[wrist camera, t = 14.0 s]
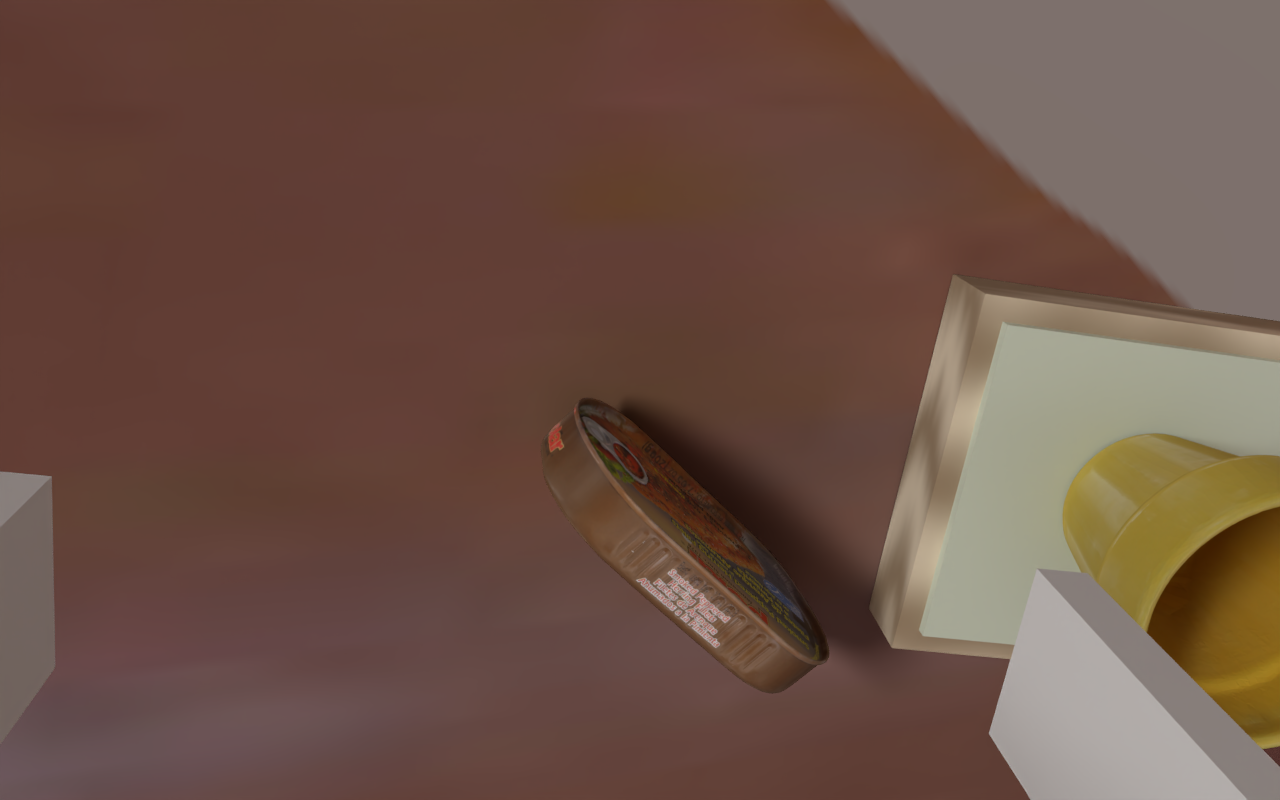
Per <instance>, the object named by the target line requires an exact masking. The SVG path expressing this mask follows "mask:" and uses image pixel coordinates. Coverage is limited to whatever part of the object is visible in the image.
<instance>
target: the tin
mask: <svg viewBox="0 0 1280 800" xmlns="http://www.w3.org/2000/svg"><path fill="white" fill-rule="evenodd" d="M541 457H542V465H543V473H544V478H545V481H546V483H547V486H548V488H549V490H550V492H551V494H552V496H553V497H554V499H555V501H556V503H557V504H558V506H559V507H560V509H561V511H562V512H563V514H564V515H565V517H566V518H567V519H568V521H569V522H570V524H571V525H572V526H573V527H574V529H575V530H576V531H577V532H578V533H579V535H580V536H581V537H582V538H583V539H584V540H585V542H586V543H587V544H588V545H589V546H590V547H591V548H592V549H593V550H594V551H595V552H596V554H597V555H598V556H599V557H600V558H601V559H602V560H604V561H605V562H606V563H607V564H608V565H609V566H610V567H611V568H612V569H614V570H615V571H616V572H617V573H618V574H619V575H620V576H621V577H622V578H624V579H625V580H626V581H627V582H628V583H629V584H630V585H631V586H632V587H634V588H635V589H636V590H637V591H638V592H639V593H640V594H641V595H643V596H644V597H645V598H646V599H647V600H649V601H650V602H651V603H652V604H653V605H654V606H655V607H656V608H658V609H659V610H660V611H661V612H662V613H663V614H664V615H665V616H667V617H668V618H669V619H670V620H671V621H672V622H674V623H675V624H676V625H677V626H678V627H679V628H680V629H681V630H683V631H684V632H685V633H686V634H687V635H689V636H690V637H691V638H692V639H693V640H694V641H695V642H696V643H698V644H699V645H700V646H701V647H703V648H704V649H705V650H706V651H707V652H708V653H710V654H711V655H712V656H713V657H714V658H715V659H716V660H717V661H719V662H720V663H721V664H722V665H723V666H725V667H726V668H727V669H728V670H729V671H730V672H732V673H733V674H734V675H735V676H737V677H738V678H739V679H741V680H742V681H743V682H745V683H747V684H748V685H750V686H751V687H753V688H755V689H757V690H760V691H762V692H766V693H779V692H782V691H784V690H785V689H787V688H788V687H790V686H791V685H793V684H794V683H795V682H797V681H798V680H799V679H800V678H802V677H803V676H804V675H805V674H807V673H808V672H809V671H811V670H812V669H813V668H814V667H816V666H817V665H821V664H824V663H825V662H826V661H827V659H828V658H829V647H828V643H827V639H826V636H825V634H824V632H823V630H822V628H821V626H820V623H819V622H818V620H817V618H816V616H815V614H814V613H813V611H812V609H811V608H810V606H809V605H808V603H807V602H806V600H805V598H804V597H803V595H802V594H801V592H800V591H799V589H798V588H797V586H796V585H795V583H794V582H793V580H792V579H791V577H790V576H789V575H788V574H787V572H786V571H785V570H784V568H783V567H782V566H781V565H780V564H779V562H778V561H777V560H776V559H775V558H774V556H773V555H772V554H771V553H770V552H769V551H768V550H767V549H766V548H765V547H764V546H763V545H762V544H761V543H760V542H759V540H758V539H757V538H756V537H755V536H754V535H753V534H752V533H751V532H750V531H749V530H748V529H746V528H745V527H744V526H743V525H742V524H741V523H740V522H739V521H738V520H737V519H736V518H735V517H734V516H733V515H732V514H731V513H730V512H728V511H727V510H726V509H725V508H724V507H723V506H722V505H721V504H720V503H719V502H718V501H717V500H716V499H715V498H713V497H712V496H711V495H710V494H709V493H708V492H707V491H706V490H705V489H704V488H703V487H702V486H701V485H700V484H699V483H698V482H697V481H695V480H694V479H693V478H692V477H691V476H690V475H689V474H688V473H687V472H686V471H685V470H684V469H683V468H682V467H681V466H680V465H679V464H678V463H677V462H676V461H674V460H673V459H672V458H671V457H670V456H669V455H668V454H667V453H666V452H665V451H664V450H663V449H662V448H661V447H660V446H658V445H657V444H656V443H655V442H654V441H653V440H652V439H651V438H650V437H649V436H648V435H647V434H646V433H645V432H644V431H643V430H641V429H640V428H639V427H638V426H637V425H636V424H634V423H633V422H632V421H631V420H630V419H629V418H627V417H625V416H624V415H623V414H621V413H620V412H619V411H617V410H616V409H614V408H613V407H611V406H609V405H608V404H606V403H604V402H602V401H599V400H596V399H593V398H583V399H581V400H579V401H578V402H577V403H576V405H575V408H574V409H573V410H572V411H571V412H570V413H569V414H568V415H567V416H566V417H564V418H563V419H562V420H561V421H560V422H559V423H558V424H557V425H556V426H554V427H553V428H552V429H551V430H550V432H549V433H548V434H547V435H546V436H545V437H544V439H543V441H542V445H541Z"/></svg>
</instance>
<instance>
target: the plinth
mask: <svg viewBox="0 0 1280 800" xmlns="http://www.w3.org/2000/svg"><path fill="white" fill-rule="evenodd" d="M1153 433H1156V434H1167V435H1172V436H1176V437H1180V438H1183V439H1186V440H1189V441H1192V442H1195V443H1199V444H1202V445H1205V446H1208V447H1211V448H1215V449H1218V450H1221V451H1224V452H1227V453H1231V454H1234V455H1237V456H1250V455H1273V456H1280V321H1273V320H1266V319H1259V318H1253V317H1246V316H1239V315H1231V314H1225V313H1218V312H1211V311H1204V310H1197V309H1191V308H1184V307H1177V306H1170V305H1163V304H1156V303H1149V302H1142V301H1135V300H1128V299H1122V298H1115V297H1108V296H1101V295H1094V294H1087V293H1080V292H1073V291H1066V290H1059V289H1053V288H1046V287H1039V286H1032V285H1025V284H1018V283H1011V282H1004V281H997V280H990V279H984V278H977V277H970V276H963V275H956V274H953V277H952V281H951V285H950V289H949V293H948V297H947V301H946V305H945V309H944V313H943V317H942V321H941V325H940V329H939V333H938V336H937V340H936V344H935V348H934V352H933V356H932V360H931V364H930V368H929V372H928V376H927V380H926V384H925V388H924V392H923V396H922V400H921V403H920V407H919V411H918V415H917V419H916V423H915V427H914V431H913V435H912V439H911V443H910V447H909V451H908V455H907V459H906V463H905V467H904V471H903V474H902V478H901V482H900V486H899V490H898V494H897V498H896V502H895V506H894V510H893V514H892V518H891V522H890V526H889V530H888V534H887V538H886V542H885V545H884V549H883V553H882V557H881V561H880V565H879V569H878V573H877V577H876V581H875V585H874V589H873V593H872V597H871V601H870V605H869V609H870V611H871V613H872V614H873V616H874V618H875V620H876V621H877V623H878V625H879V627H880V628H881V630H882V632H883V634H884V635H885V637H886V639H887V640H888V642H889V644H890V646H891V647H892V648H897V649H908V650H919V651H929V652H940V653H951V654H962V655H972V656H983V657H994V658H1004V659H1011V656H1012V652H1013V649H1014V646H1015V642H1016V639H1017V635H1018V632H1019V628H1020V625H1021V621H1022V618H1023V615H1024V611H1025V608H1026V604H1027V601H1028V597H1029V594H1030V590H1031V587H1032V584H1033V580H1034V577H1035V573H1036V570H1037V569H1048V570H1059V571H1070V572H1080V573H1081V571H1080V569H1079V567H1078V565H1077V563H1076V561H1075V559H1074V557H1073V555H1072V553H1071V551H1070V548H1069V546H1068V544H1067V542H1066V539H1065V536H1064V531H1063V517H1062V515H1063V506H1064V501H1065V498H1066V495H1067V492H1068V490H1069V487H1070V485H1071V483H1072V481H1073V480H1074V478H1075V477H1076V475H1077V474H1078V473H1079V471H1080V470H1081V469H1082V468H1083V467H1084V465H1085V464H1086V463H1087V462H1088V461H1089V460H1090V459H1092V458H1093V457H1094V456H1095V455H1096V454H1097V453H1099V452H1100V451H1102V450H1103V449H1104V448H1106V447H1108V446H1110V445H1111V444H1113V443H1115V442H1117V441H1120V440H1122V439H1125V438H1128V437H1132V436H1136V435H1141V434H1153Z"/></svg>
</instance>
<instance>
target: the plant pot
mask: <svg viewBox="0 0 1280 800" xmlns="http://www.w3.org/2000/svg"><path fill="white" fill-rule="evenodd" d="M1062 517H1063V531H1064V536H1065V539H1066V542H1067V544H1068V546H1069V548H1070V551H1071V553H1072V555H1073V557H1074V559H1075V561H1076V563H1077V565H1078V567H1079V569H1080V571H1081V573H1088V574H1089V575H1090V576H1091V577H1092V578H1093V579H1094V580H1095V581H1096V582H1097V583H1098V584H1099V585H1100V586H1101V587H1102V588H1103V589H1104V590H1105V591H1106V592H1107V593H1108V594H1109V595H1110V596H1111V597H1112V598H1113V599H1114V600H1115V601H1116V602H1117V603H1118V605H1119V606H1120V607H1121V608H1122V609H1123V610H1124V611H1125V612H1126V613H1127V614H1128V615H1129V616H1130V617H1131V618H1132V619H1133V620H1134V621H1135V622H1136V623H1137V624H1138V625H1139V626H1140V627H1141V628H1142V629H1143V630H1144V631H1145V632H1146V633H1147V634H1148V635H1149V636H1150V637H1151V638H1152V639H1153V640H1154V641H1155V642H1156V643H1157V644H1158V645H1159V646H1160V647H1161V648H1162V649H1163V650H1164V651H1165V652H1166V653H1167V654H1168V655H1169V656H1170V657H1171V658H1172V659H1173V660H1174V661H1175V662H1176V663H1177V664H1178V665H1179V666H1180V667H1181V668H1182V669H1183V670H1184V671H1185V672H1186V673H1187V674H1188V675H1189V676H1190V677H1191V678H1192V679H1193V680H1194V681H1195V682H1196V683H1197V684H1198V685H1199V686H1200V687H1201V688H1202V689H1203V690H1204V691H1205V692H1206V693H1207V694H1208V695H1209V696H1210V697H1211V698H1212V699H1213V700H1214V701H1215V702H1216V703H1217V704H1218V705H1219V706H1220V707H1221V708H1222V709H1223V710H1224V711H1225V712H1226V713H1227V714H1228V715H1229V716H1230V717H1231V718H1232V719H1233V720H1234V721H1235V722H1236V723H1237V724H1238V725H1239V726H1240V727H1241V728H1242V729H1243V730H1244V732H1245V733H1246V734H1247V735H1248V736H1249V737H1250V738H1251V739H1252V740H1253V741H1254V742H1255V743H1256V744H1257V745H1258V746H1259V747H1260V748H1261V749H1267V748H1273V747H1278V746H1280V456H1273V455H1250V456H1237V455H1234V454H1231V453H1227V452H1224V451H1221V450H1218V449H1215V448H1211V447H1208V446H1205V445H1202V444H1199V443H1195V442H1192V441H1189V440H1186V439H1183V438H1180V437H1176V436H1172V435H1167V434H1156V433H1153V434H1141V435H1136V436H1132V437H1128V438H1125V439H1122V440H1120V441H1117V442H1115V443H1113V444H1111V445H1110V446H1108V447H1106V448H1104V449H1103V450H1102V451H1100V452H1099V453H1097V454H1096V455H1095V456H1094V457H1093V458H1092V459H1090V460H1089V461H1088V462H1087V463H1086V464H1085V465H1084V467H1083V468H1082V469H1081V470H1080V471H1079V473H1078V474H1077V475H1076V477H1075V478H1074V480H1073V481H1072V483H1071V485H1070V487H1069V490H1068V492H1067V495H1066V498H1065V501H1064V506H1063V515H1062Z"/></svg>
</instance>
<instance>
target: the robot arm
mask: <svg viewBox="0 0 1280 800" xmlns="http://www.w3.org/2000/svg"><path fill="white" fill-rule="evenodd" d="M54 668H55V628H54V576H53V523H52V476H42V475H31V474H20V473H10V472H0V744H1V743H2V742H3V740H4V739H5V737H6V736H7V735H8V733H9V732H10V730H11V729H12V728H13V726H14V725H15V723H16V722H17V720H18V719H19V718H20V716H21V715H22V713H23V712H24V711H25V709H26V708H27V706H28V705H29V704H30V702H31V701H32V699H33V698H34V697H35V695H36V694H37V692H38V691H39V690H40V688H41V687H42V685H43V684H44V682H45V681H46V680H47V678H48V677H49V675H50V674H51V673H52V671H53V670H54ZM989 735H990V736H991V738H992V739H993V741H994V743H995V744H996V746H997V747H998V749H999V750H1000V752H1001V753H1002V755H1003V757H1004V758H1005V760H1006V761H1007V763H1008V764H1009V766H1010V768H1011V769H1012V771H1013V772H1014V774H1015V775H1016V777H1017V779H1018V780H1019V782H1020V783H1021V785H1022V786H1023V788H1024V790H1025V791H1026V793H1027V794H1028V796H1029V797H1030V799H1031V800H1280V767H1279V766H1278V765H1277V764H1276V763H1275V762H1274V761H1273V760H1272V759H1271V758H1270V757H1269V756H1268V755H1267V754H1266V753H1265V752H1264V751H1263V750H1262V749H1261V748H1260V747H1259V746H1258V745H1257V744H1256V743H1255V742H1254V741H1253V740H1252V739H1251V738H1250V737H1249V736H1248V735H1247V734H1246V733H1245V732H1244V730H1243V729H1242V728H1241V727H1240V726H1239V725H1238V724H1237V723H1236V722H1235V721H1234V720H1233V719H1232V718H1231V717H1230V716H1229V715H1228V714H1227V713H1226V712H1225V711H1224V710H1223V709H1222V708H1221V707H1220V706H1219V705H1218V704H1217V703H1216V702H1215V701H1214V700H1213V699H1212V698H1211V697H1210V696H1209V695H1208V694H1207V693H1206V692H1205V691H1204V690H1203V689H1202V688H1201V687H1200V686H1199V685H1198V684H1197V683H1196V682H1195V681H1194V680H1193V679H1192V678H1191V677H1190V676H1189V675H1188V674H1187V673H1186V672H1185V671H1184V670H1183V669H1182V668H1181V667H1180V666H1179V665H1178V664H1177V663H1176V662H1175V661H1174V660H1173V659H1172V658H1171V657H1170V656H1169V655H1168V654H1167V653H1166V652H1165V651H1164V650H1163V649H1162V648H1161V647H1160V646H1159V645H1158V644H1157V643H1156V642H1155V641H1154V640H1153V639H1152V638H1151V637H1150V636H1149V635H1148V634H1147V633H1146V632H1145V631H1144V630H1143V629H1142V628H1141V627H1140V626H1139V625H1138V624H1137V623H1136V622H1135V621H1134V620H1133V619H1132V618H1131V617H1130V616H1129V615H1128V614H1127V613H1126V612H1125V611H1124V610H1123V609H1122V608H1121V607H1120V606H1119V605H1118V603H1117V602H1116V601H1115V600H1114V599H1113V598H1112V597H1111V596H1110V595H1109V594H1108V593H1107V592H1106V591H1105V590H1104V589H1103V588H1102V587H1101V586H1100V585H1099V584H1098V583H1097V582H1096V581H1095V580H1094V579H1093V578H1092V577H1091V576H1090V575H1089V574H1088V573H1080V572H1070V571H1059V570H1048V569H1037V570H1036V573H1035V577H1034V580H1033V584H1032V587H1031V590H1030V594H1029V597H1028V601H1027V604H1026V608H1025V611H1024V615H1023V618H1022V621H1021V625H1020V628H1019V632H1018V635H1017V639H1016V642H1015V646H1014V649H1013V652H1012V656H1011V659H1010V663H1009V666H1008V670H1007V673H1006V677H1005V680H1004V684H1003V687H1002V690H1001V694H1000V697H999V701H998V704H997V708H996V711H995V715H994V718H993V721H992V725H991V728H990V732H989Z"/></svg>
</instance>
